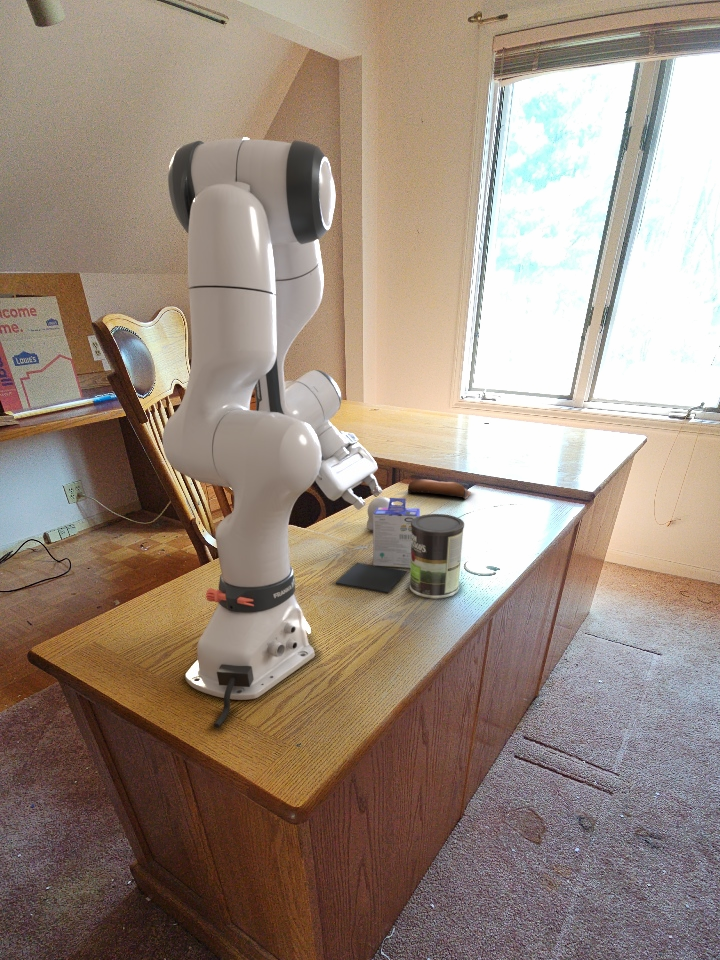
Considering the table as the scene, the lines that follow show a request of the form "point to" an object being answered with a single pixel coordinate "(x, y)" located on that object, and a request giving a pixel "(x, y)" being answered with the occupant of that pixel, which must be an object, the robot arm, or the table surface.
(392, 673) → the table surface
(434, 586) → the coffee can
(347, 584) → the coaster
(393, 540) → the ink cartridge box
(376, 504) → the chubby cartoon animal
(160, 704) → the table surface
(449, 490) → the sunglasses case
